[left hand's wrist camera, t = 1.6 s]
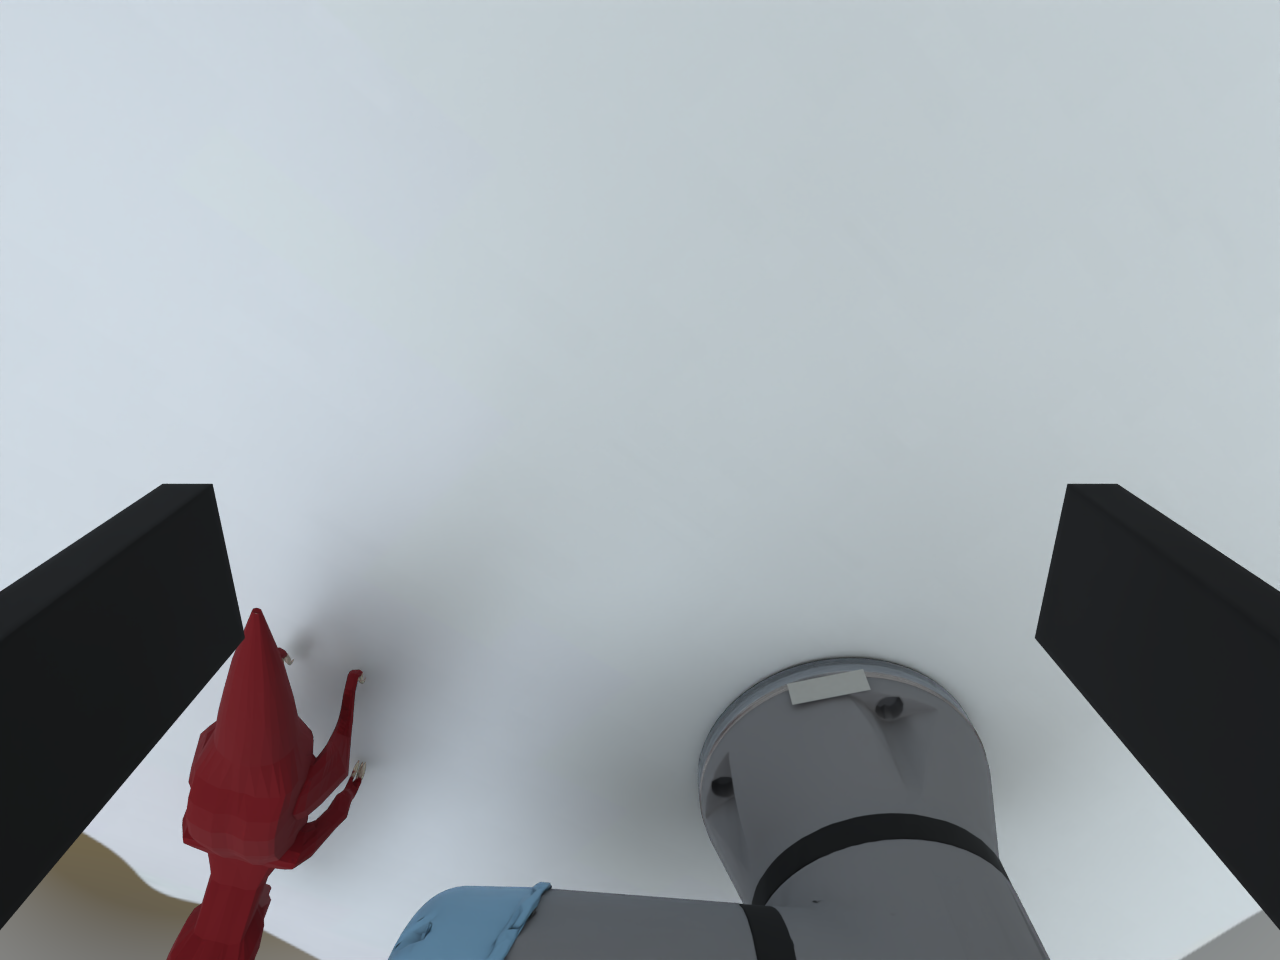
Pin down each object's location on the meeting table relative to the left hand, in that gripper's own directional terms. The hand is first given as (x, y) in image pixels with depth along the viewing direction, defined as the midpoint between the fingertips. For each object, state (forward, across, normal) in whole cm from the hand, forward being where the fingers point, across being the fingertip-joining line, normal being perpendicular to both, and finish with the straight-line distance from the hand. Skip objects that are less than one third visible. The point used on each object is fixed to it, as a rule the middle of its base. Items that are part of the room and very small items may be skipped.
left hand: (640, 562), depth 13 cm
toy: (+24, +17, +20) cm, 35 cm away
